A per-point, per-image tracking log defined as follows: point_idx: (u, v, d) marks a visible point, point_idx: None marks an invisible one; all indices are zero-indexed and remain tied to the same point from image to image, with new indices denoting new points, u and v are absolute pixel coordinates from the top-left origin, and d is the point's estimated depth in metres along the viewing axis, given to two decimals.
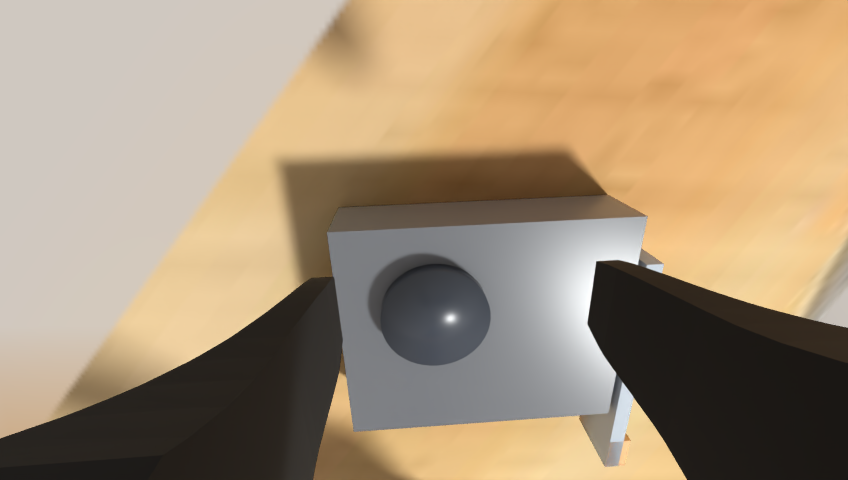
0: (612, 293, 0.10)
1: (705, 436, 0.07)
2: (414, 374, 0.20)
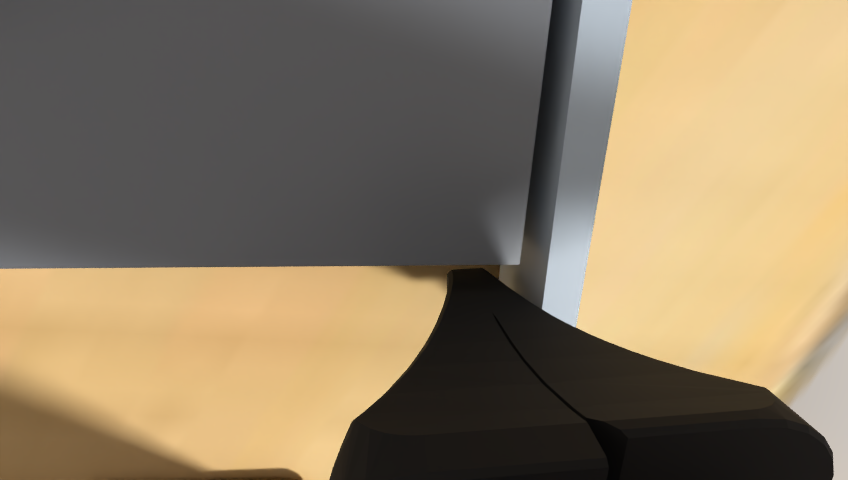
0: None
1: None
2: None
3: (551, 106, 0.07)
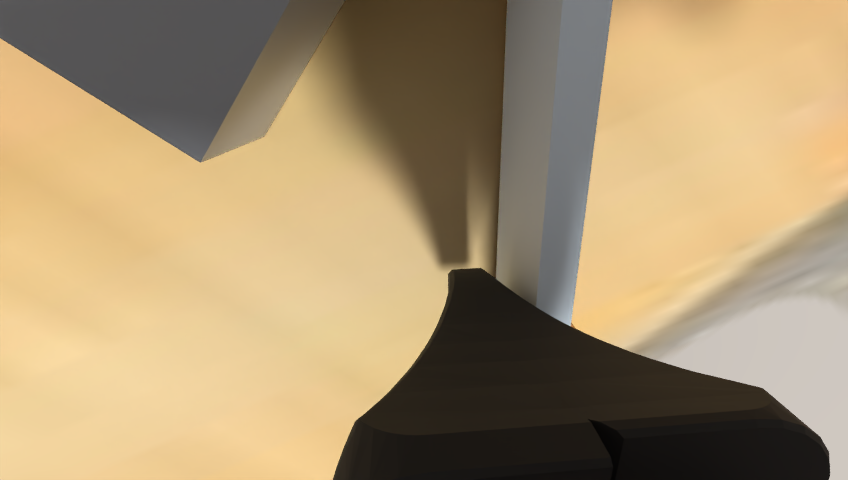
0: None
1: None
2: None
3: (538, 102, 0.07)
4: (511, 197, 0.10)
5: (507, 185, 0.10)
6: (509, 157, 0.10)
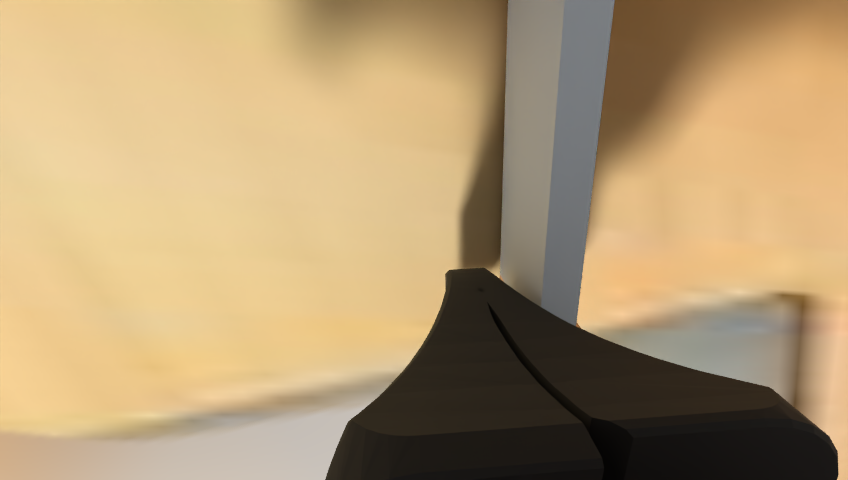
0: None
1: None
2: None
3: (540, 101, 0.07)
4: (515, 197, 0.10)
5: (510, 185, 0.10)
6: (512, 157, 0.10)
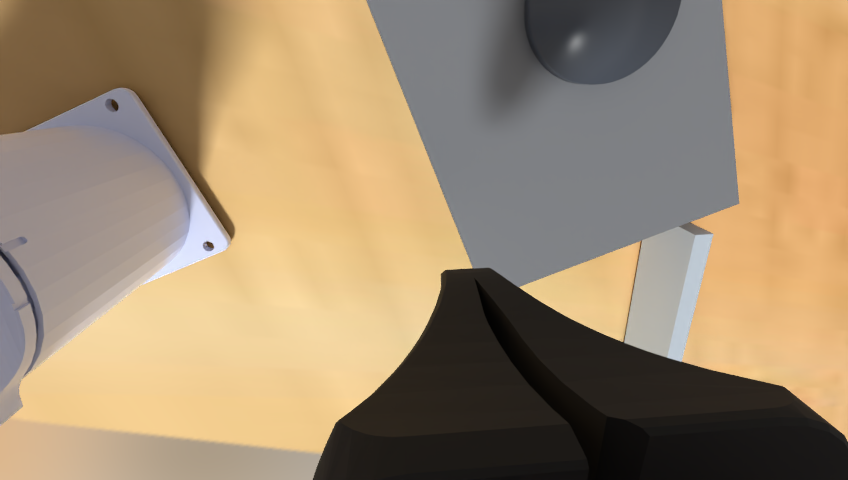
0: None
1: None
2: (486, 16, 0.13)
3: (658, 341, 0.20)
4: None
5: None
6: (634, 341, 0.22)
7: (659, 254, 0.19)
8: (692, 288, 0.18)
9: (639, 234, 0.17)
